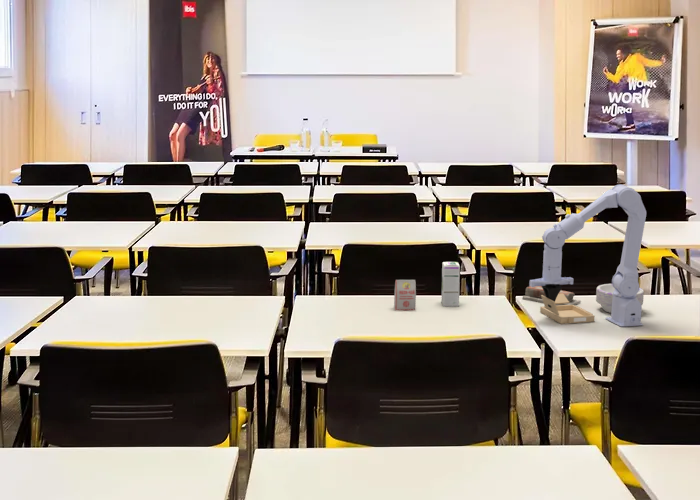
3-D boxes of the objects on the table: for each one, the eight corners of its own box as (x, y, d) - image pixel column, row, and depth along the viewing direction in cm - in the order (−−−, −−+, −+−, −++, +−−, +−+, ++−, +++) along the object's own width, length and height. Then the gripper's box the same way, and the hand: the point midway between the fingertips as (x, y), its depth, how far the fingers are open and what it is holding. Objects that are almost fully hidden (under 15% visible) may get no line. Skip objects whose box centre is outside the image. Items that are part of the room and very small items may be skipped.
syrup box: (459, 306, 289) (460, 265, 286) (442, 306, 289) (443, 264, 286) (457, 302, 295) (459, 261, 292) (440, 302, 295) (442, 261, 292)
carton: (596, 322, 272) (597, 316, 272) (561, 324, 269) (561, 318, 269) (573, 310, 286) (574, 304, 286) (540, 312, 283) (540, 306, 283)
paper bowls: (590, 313, 283) (592, 290, 281) (600, 303, 296) (602, 281, 295) (637, 319, 276) (639, 296, 274) (645, 309, 289) (647, 286, 288)
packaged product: (521, 287, 299) (535, 282, 307) (521, 300, 300) (534, 295, 308) (569, 295, 288) (582, 290, 295) (568, 309, 289) (581, 304, 296)
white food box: (394, 307, 288) (394, 278, 286) (413, 307, 288) (414, 278, 286) (395, 310, 284) (396, 281, 282) (415, 310, 284) (416, 281, 282)
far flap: (569, 302, 286) (563, 293, 290) (551, 303, 284) (545, 294, 288) (569, 303, 286) (562, 294, 290) (551, 304, 285) (545, 295, 289)
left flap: (559, 315, 270) (554, 301, 268) (558, 315, 270) (553, 302, 268) (546, 308, 278) (542, 294, 276) (545, 308, 278) (540, 295, 276)
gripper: (537, 269, 265) (535, 311, 268) (579, 267, 269) (576, 308, 271) (527, 265, 272) (525, 306, 274) (568, 262, 275) (566, 302, 278)
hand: (550, 306), depth 273 cm, fingers closed, pressing on left flap
